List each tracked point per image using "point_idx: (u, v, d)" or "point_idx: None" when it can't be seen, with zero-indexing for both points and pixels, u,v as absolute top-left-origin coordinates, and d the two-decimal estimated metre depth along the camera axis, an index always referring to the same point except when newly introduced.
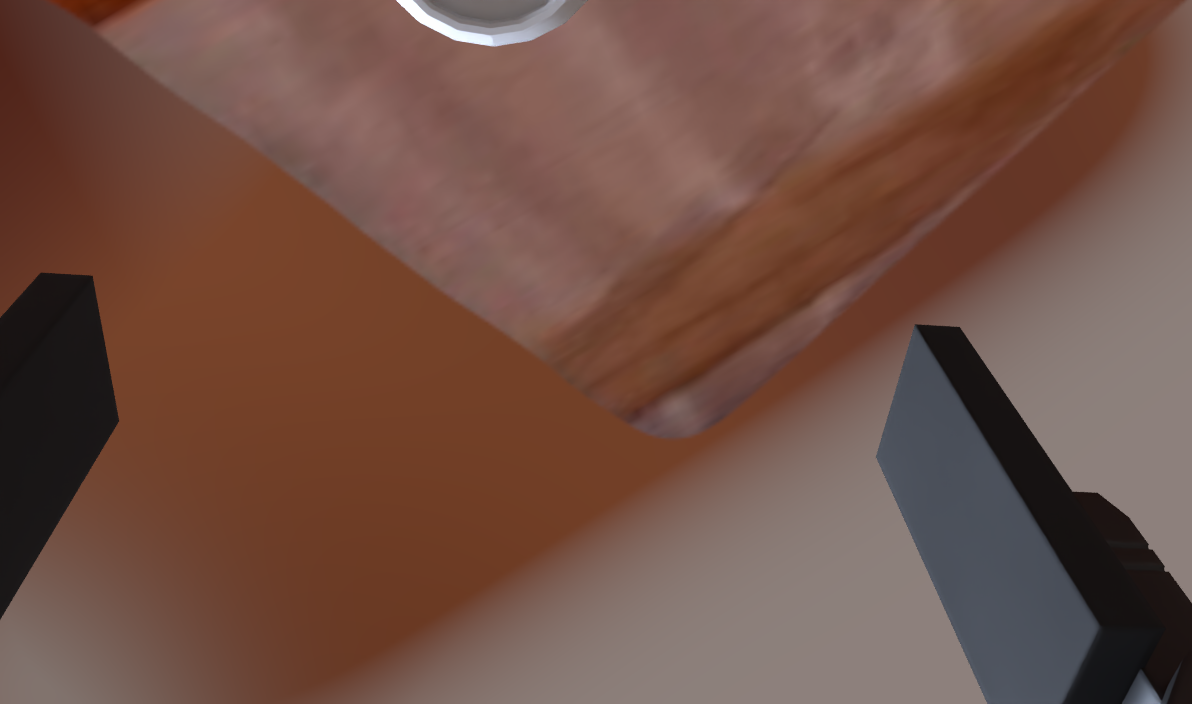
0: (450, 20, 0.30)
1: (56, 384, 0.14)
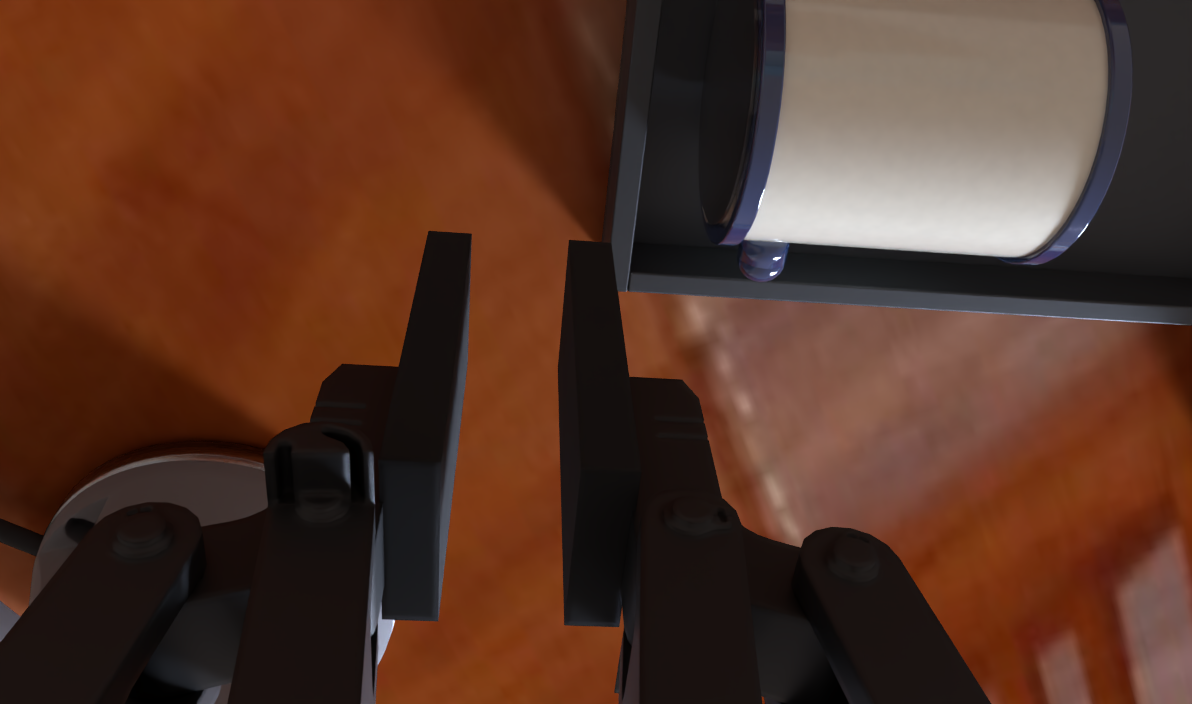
0: None
1: (464, 324, 0.17)
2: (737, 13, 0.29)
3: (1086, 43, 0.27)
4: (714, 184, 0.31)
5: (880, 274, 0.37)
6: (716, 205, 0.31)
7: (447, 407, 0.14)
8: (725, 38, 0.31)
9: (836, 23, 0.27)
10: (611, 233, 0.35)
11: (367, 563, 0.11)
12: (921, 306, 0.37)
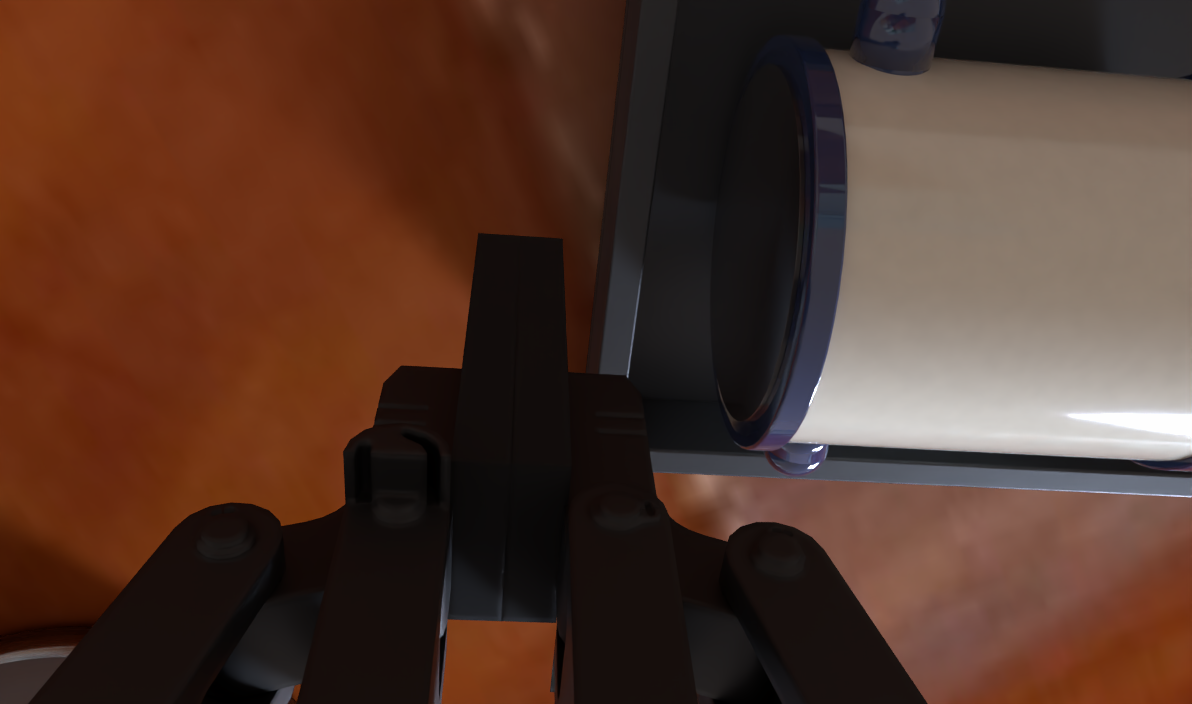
0: None
1: None
2: (770, 137, 0.21)
3: None
4: (734, 361, 0.23)
5: None
6: (738, 394, 0.22)
7: (513, 408, 0.14)
8: (750, 163, 0.22)
9: (920, 168, 0.18)
10: None
11: (439, 567, 0.11)
12: (997, 485, 0.29)
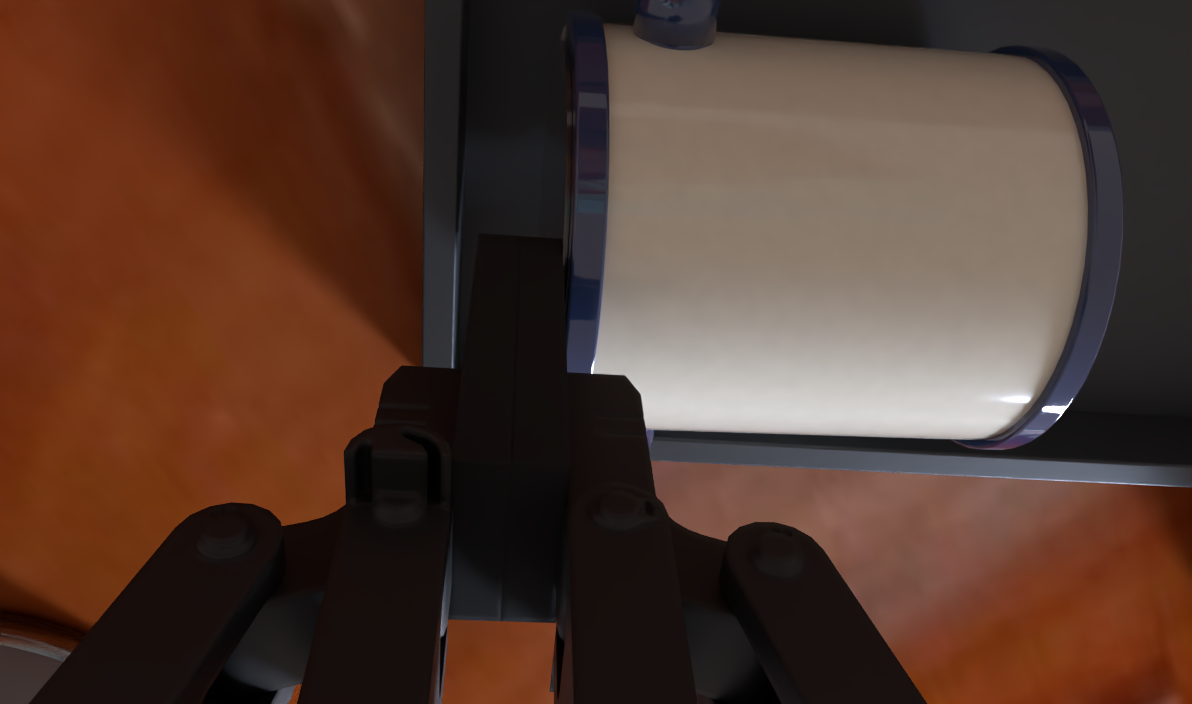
0: None
1: None
2: (558, 115, 0.20)
3: (1056, 166, 0.19)
4: None
5: None
6: None
7: (513, 408, 0.14)
8: (551, 143, 0.22)
9: (687, 144, 0.18)
10: None
11: (440, 567, 0.11)
12: (840, 466, 0.28)
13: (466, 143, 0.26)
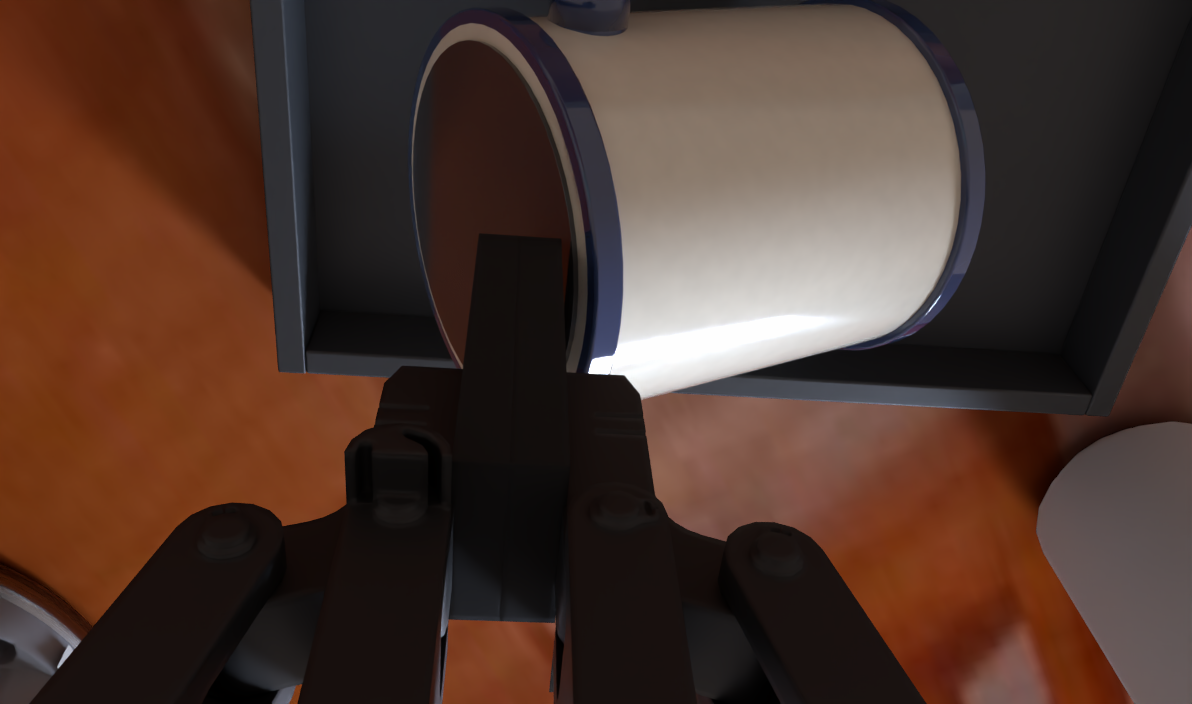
0: None
1: None
2: (489, 117, 0.20)
3: (925, 96, 0.22)
4: None
5: None
6: None
7: (514, 408, 0.14)
8: (463, 146, 0.21)
9: (660, 126, 0.19)
10: (274, 305, 0.29)
11: (440, 567, 0.11)
12: None
13: (309, 88, 0.28)
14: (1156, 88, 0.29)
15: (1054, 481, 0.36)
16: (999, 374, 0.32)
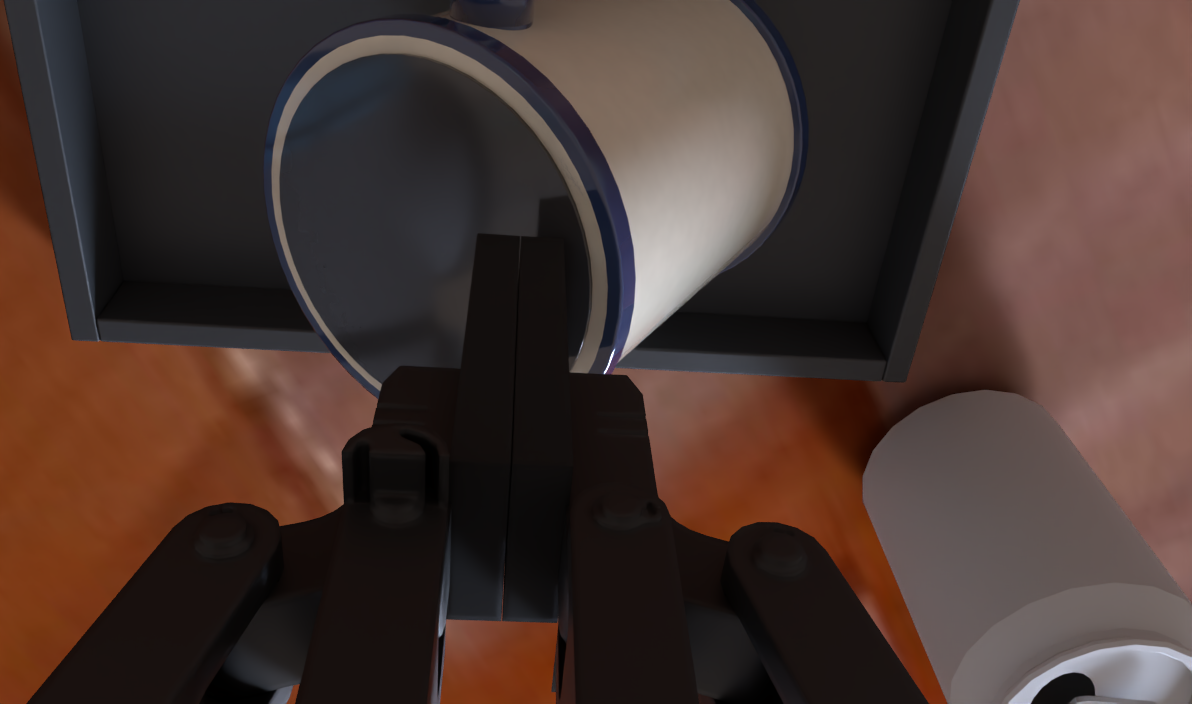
0: None
1: (515, 325, 0.17)
2: (428, 131, 0.19)
3: (753, 41, 0.24)
4: None
5: None
6: None
7: (512, 408, 0.14)
8: (380, 167, 0.20)
9: (616, 109, 0.19)
10: (59, 274, 0.29)
11: (438, 566, 0.11)
12: None
13: (88, 58, 0.29)
14: (931, 56, 0.30)
15: (874, 450, 0.37)
16: (798, 341, 0.33)
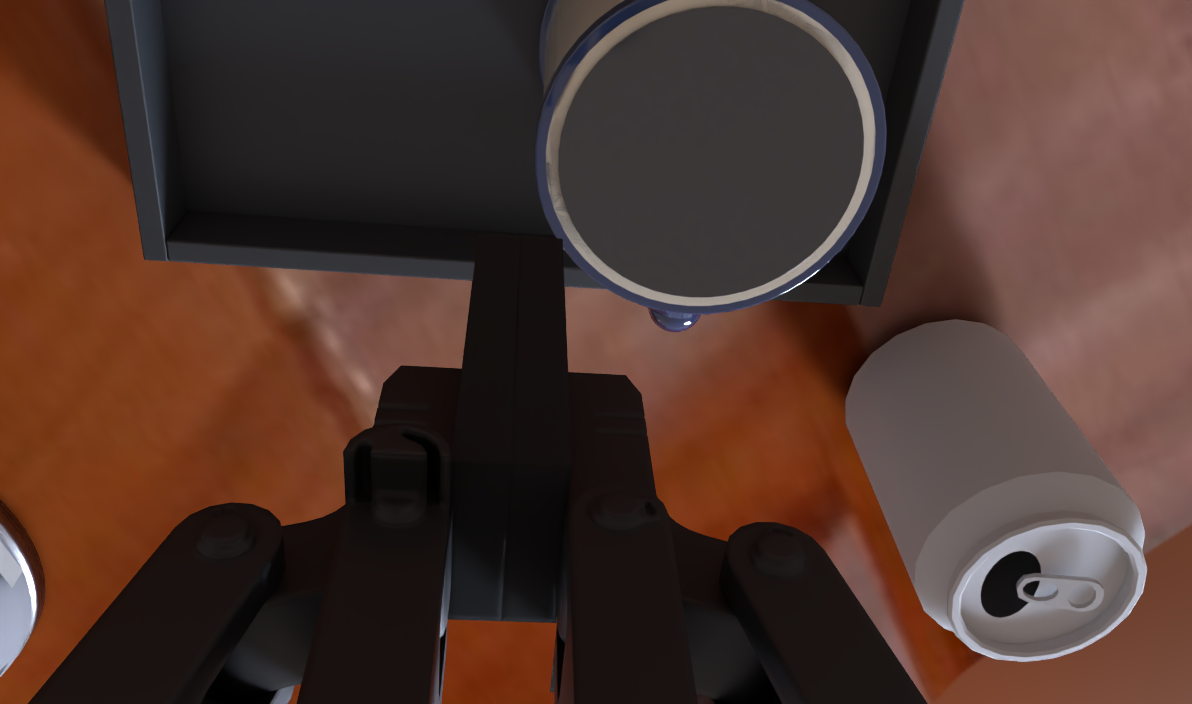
0: (1117, 619, 0.33)
1: None
2: (731, 65, 0.24)
3: None
4: (727, 254, 0.27)
5: (447, 245, 0.36)
6: (754, 268, 0.27)
7: (513, 408, 0.14)
8: (678, 103, 0.25)
9: None
10: (135, 199, 0.34)
11: (439, 566, 0.11)
12: None
13: (162, 10, 0.33)
14: (902, 11, 0.34)
15: (855, 375, 0.41)
16: None
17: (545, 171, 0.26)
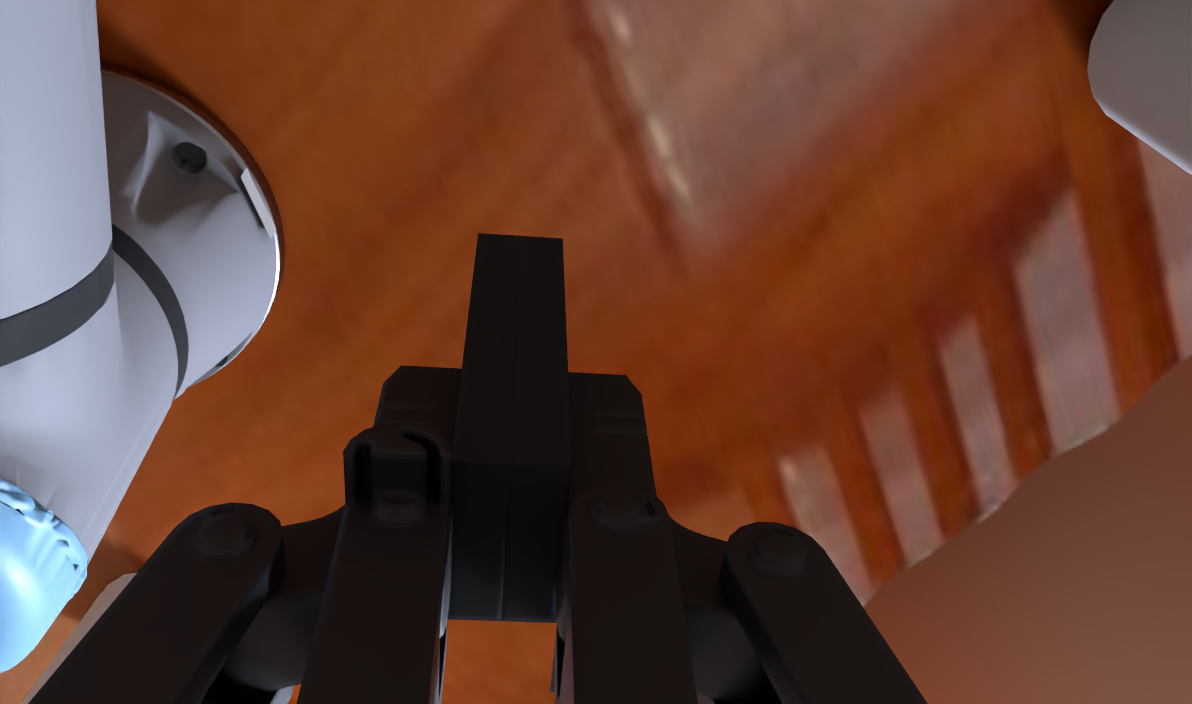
0: None
1: None
2: None
3: None
4: None
5: None
6: None
7: (513, 408, 0.14)
8: None
9: None
10: None
11: (439, 567, 0.11)
12: None
13: None
14: None
15: (1104, 14, 0.42)
16: None
17: None
